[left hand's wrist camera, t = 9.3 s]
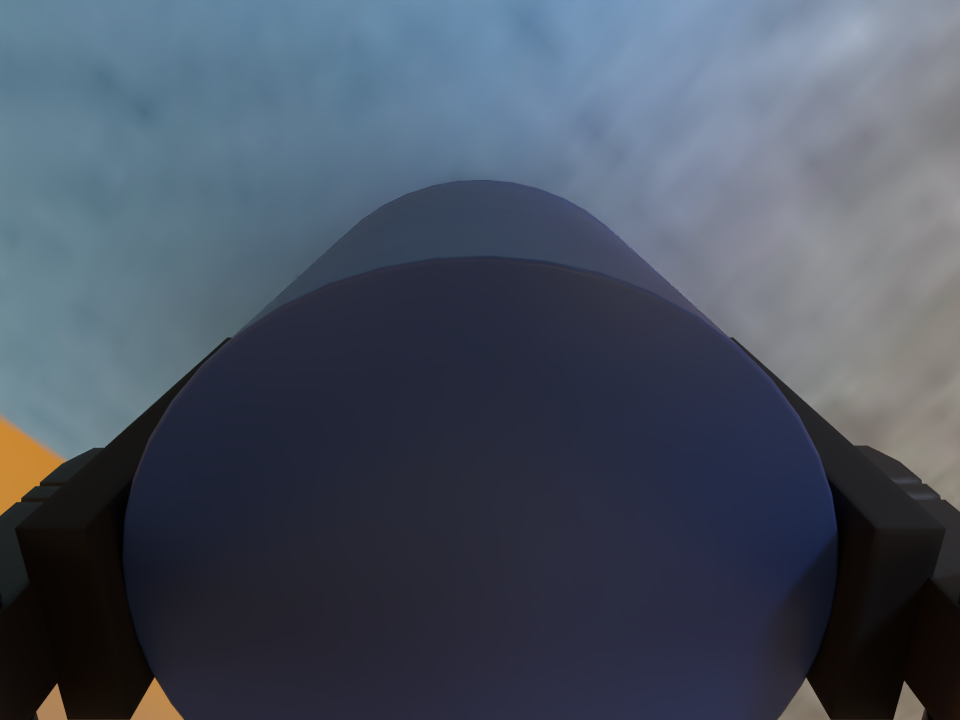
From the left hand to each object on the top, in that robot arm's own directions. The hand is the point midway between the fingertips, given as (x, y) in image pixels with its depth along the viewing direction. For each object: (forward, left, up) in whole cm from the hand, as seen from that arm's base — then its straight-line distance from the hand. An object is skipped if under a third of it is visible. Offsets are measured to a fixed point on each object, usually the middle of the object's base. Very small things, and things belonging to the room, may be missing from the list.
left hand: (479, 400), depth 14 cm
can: (0, 0, -2) cm, 2 cm away
